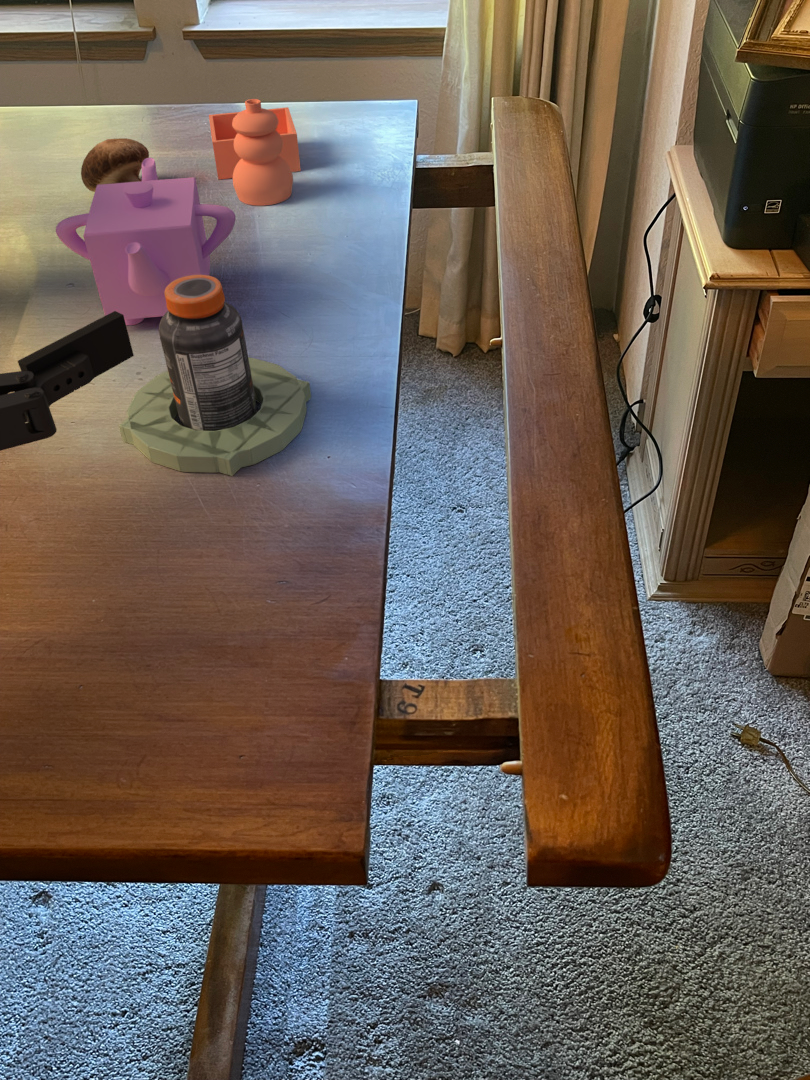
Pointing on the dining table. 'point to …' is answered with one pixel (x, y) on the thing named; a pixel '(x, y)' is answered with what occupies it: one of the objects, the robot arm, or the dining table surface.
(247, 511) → the dining table surface
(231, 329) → the pill bottle
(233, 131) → the pottery
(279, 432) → the hole board
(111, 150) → the mushroom
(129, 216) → the teapot
